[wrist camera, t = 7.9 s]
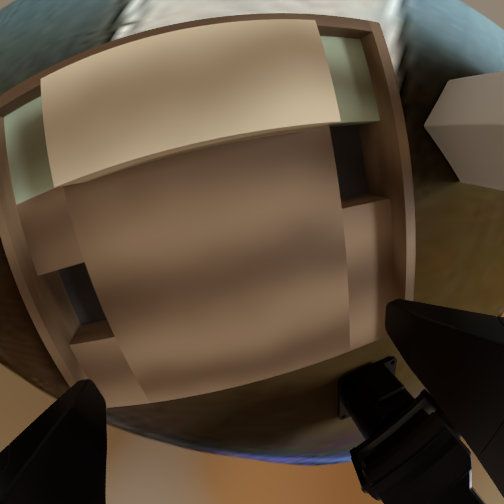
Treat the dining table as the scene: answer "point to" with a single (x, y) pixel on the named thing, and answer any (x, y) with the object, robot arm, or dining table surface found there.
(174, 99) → the cream rectangular block
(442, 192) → the dining table surface
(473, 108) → the milk carton
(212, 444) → the dining table surface
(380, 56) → the open tray box
